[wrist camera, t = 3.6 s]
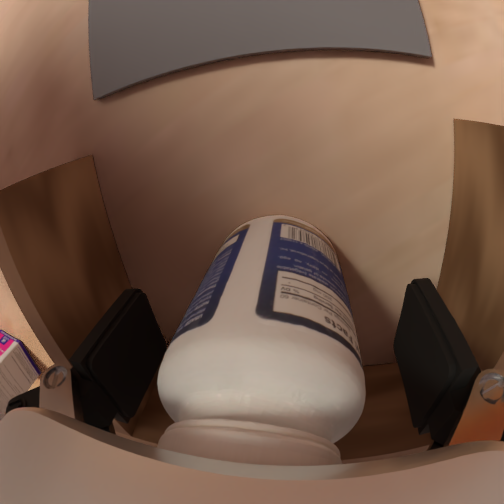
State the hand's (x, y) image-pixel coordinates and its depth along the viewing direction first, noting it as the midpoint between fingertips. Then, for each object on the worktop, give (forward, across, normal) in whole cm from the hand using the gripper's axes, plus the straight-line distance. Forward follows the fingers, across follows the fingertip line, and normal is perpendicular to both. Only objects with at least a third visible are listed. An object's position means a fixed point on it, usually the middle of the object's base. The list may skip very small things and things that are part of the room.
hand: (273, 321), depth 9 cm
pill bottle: (+4, 0, 0) cm, 4 cm away
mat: (+3, 0, -14) cm, 14 cm away
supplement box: (+4, +32, +11) cm, 34 cm away
